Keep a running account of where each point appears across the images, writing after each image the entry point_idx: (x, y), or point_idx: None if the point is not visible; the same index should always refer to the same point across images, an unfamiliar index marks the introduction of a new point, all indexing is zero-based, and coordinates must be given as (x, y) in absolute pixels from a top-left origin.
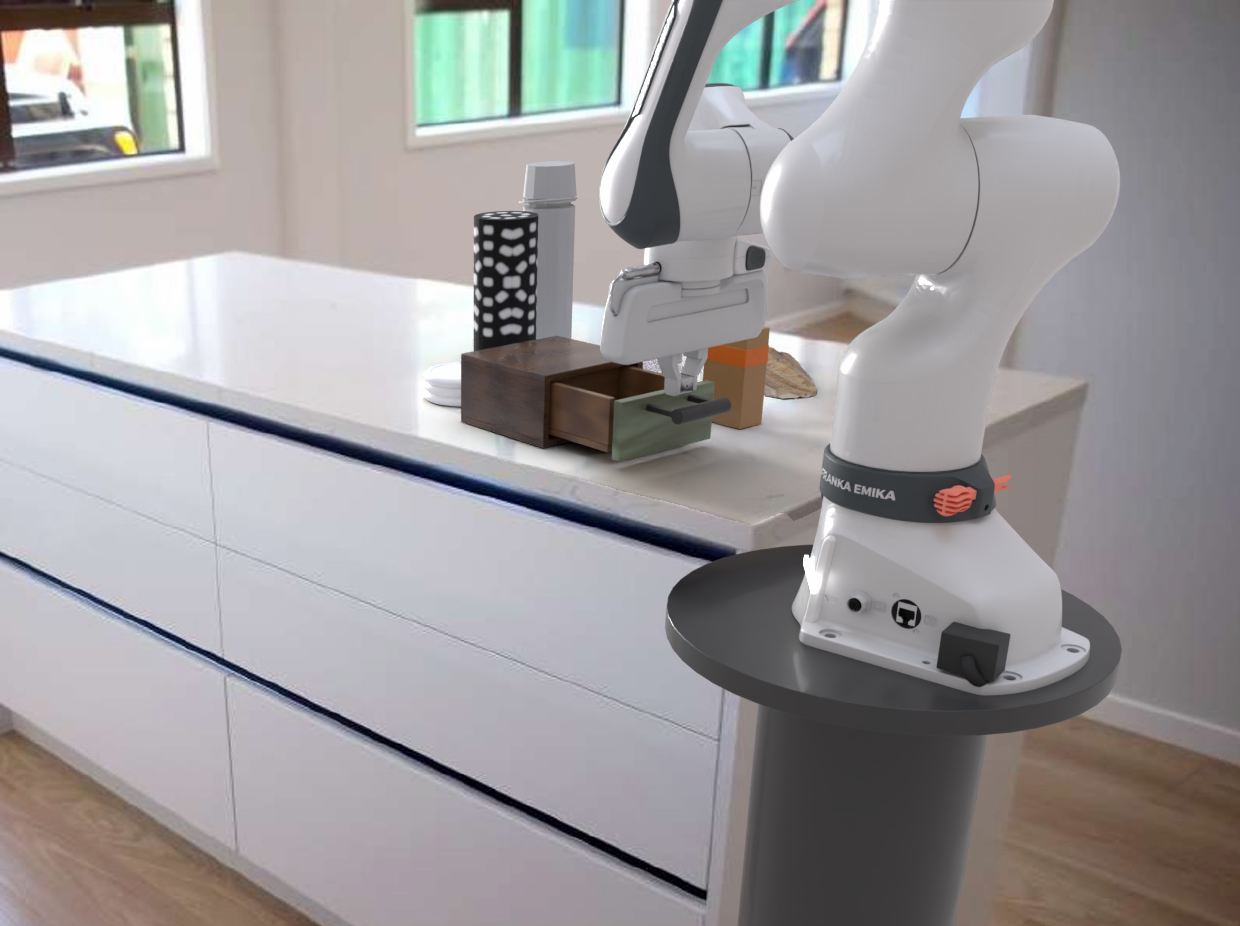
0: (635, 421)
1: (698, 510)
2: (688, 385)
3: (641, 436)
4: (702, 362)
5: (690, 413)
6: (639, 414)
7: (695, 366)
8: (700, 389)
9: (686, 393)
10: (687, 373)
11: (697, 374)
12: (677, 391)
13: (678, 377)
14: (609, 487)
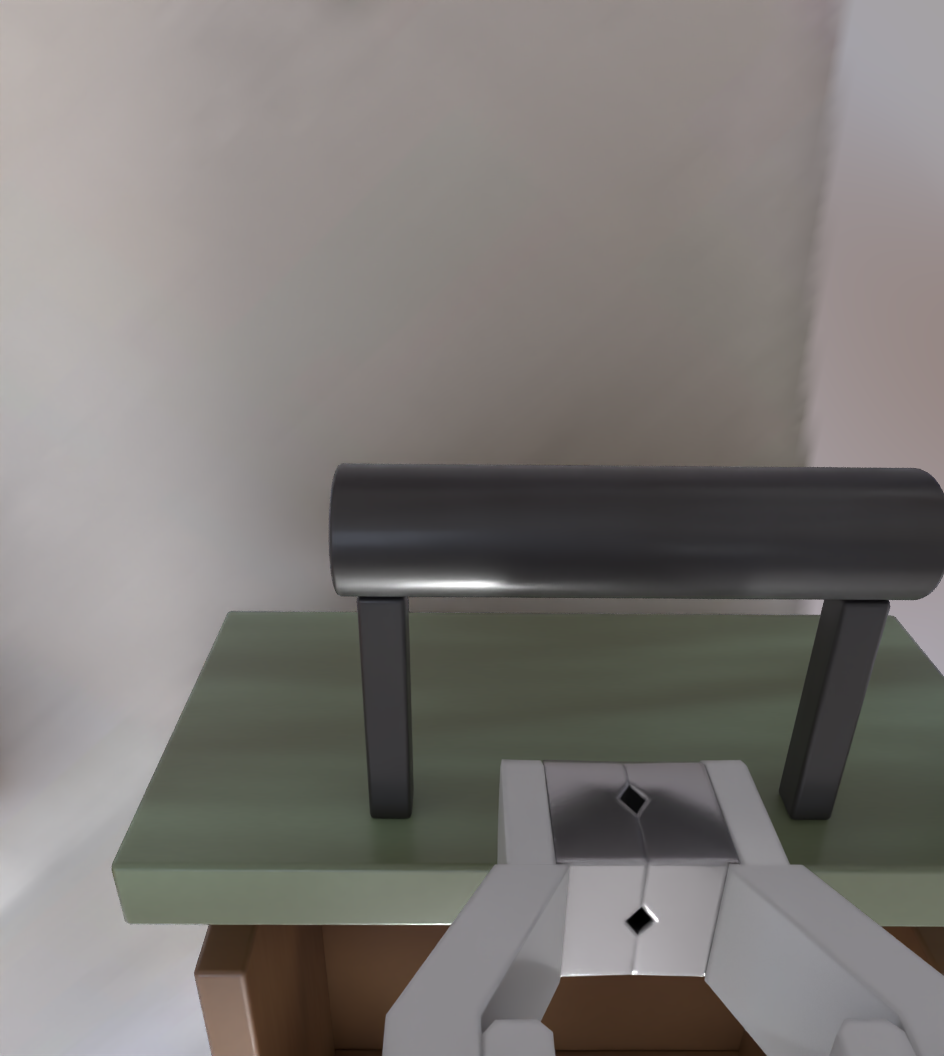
0: (884, 749)
1: (825, 93)
2: (617, 801)
3: (784, 680)
4: (461, 975)
5: (841, 489)
6: (869, 778)
7: (521, 963)
8: (273, 838)
9: (424, 833)
10: (562, 933)
11: (512, 871)
12: (747, 777)
13: (793, 882)
14: (798, 599)
